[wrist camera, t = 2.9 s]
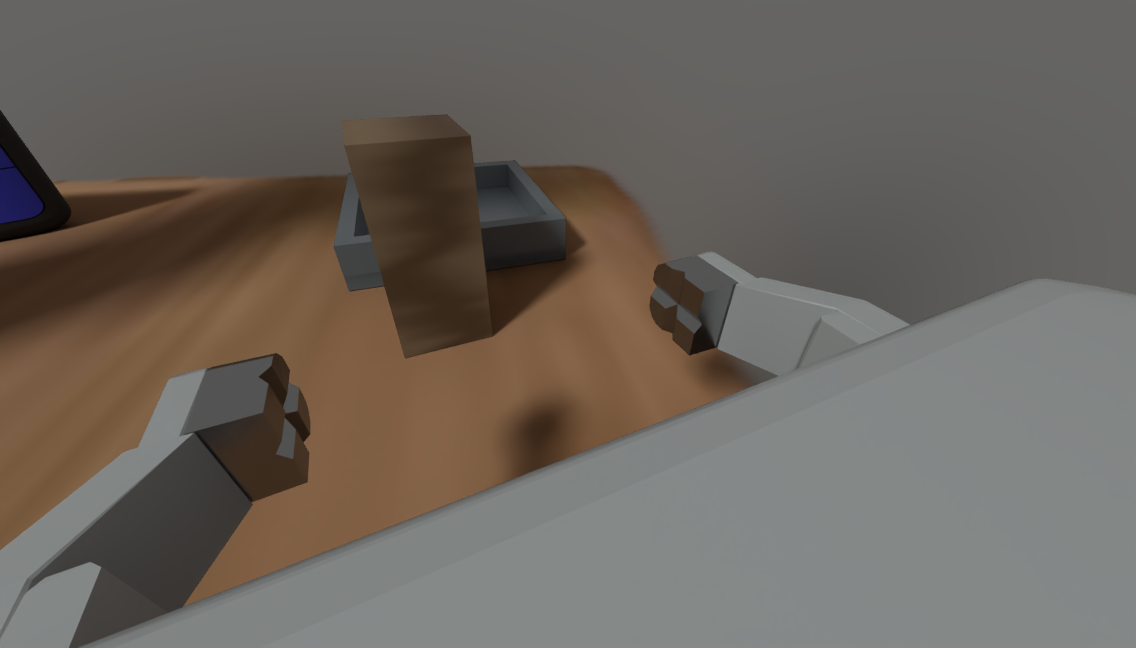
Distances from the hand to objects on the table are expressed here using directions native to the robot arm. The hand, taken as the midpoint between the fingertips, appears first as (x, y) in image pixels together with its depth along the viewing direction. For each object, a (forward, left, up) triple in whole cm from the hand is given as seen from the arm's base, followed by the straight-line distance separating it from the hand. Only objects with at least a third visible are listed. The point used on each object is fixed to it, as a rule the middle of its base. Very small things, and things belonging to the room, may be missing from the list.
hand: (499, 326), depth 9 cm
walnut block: (-1, +12, -8) cm, 15 cm away
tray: (+1, +24, -8) cm, 26 cm away
